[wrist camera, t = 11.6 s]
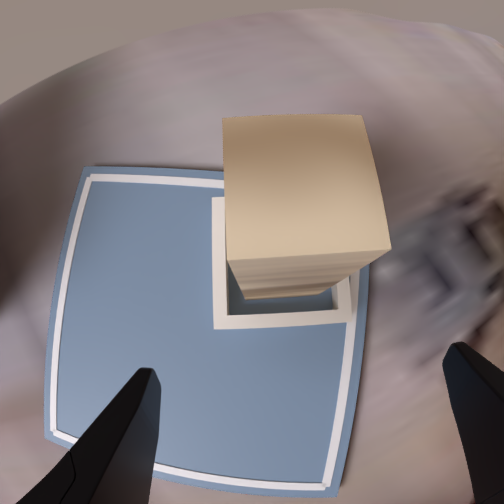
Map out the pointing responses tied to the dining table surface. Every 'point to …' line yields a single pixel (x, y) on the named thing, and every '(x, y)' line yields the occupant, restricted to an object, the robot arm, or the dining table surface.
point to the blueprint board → (195, 343)
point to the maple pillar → (300, 202)
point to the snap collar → (226, 321)
